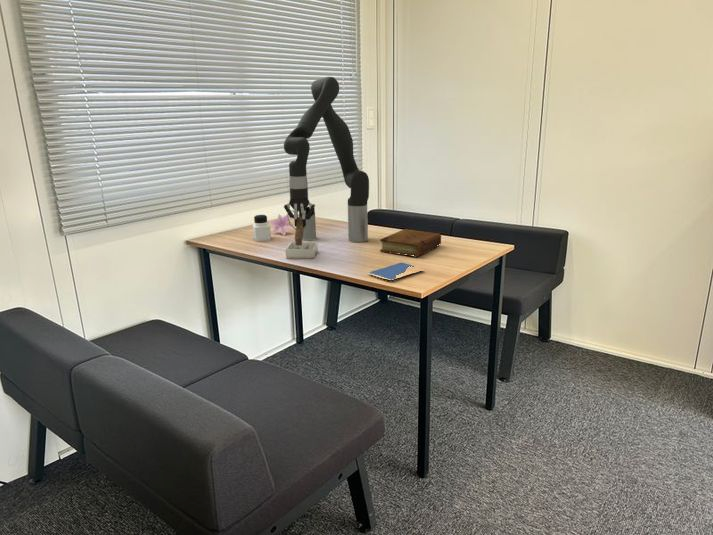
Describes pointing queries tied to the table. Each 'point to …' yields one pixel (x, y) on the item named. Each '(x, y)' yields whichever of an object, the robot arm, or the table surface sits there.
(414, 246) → the diary
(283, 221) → the lily
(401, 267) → the blue notebook
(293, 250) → the plank slot holder tray
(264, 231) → the medicine bottle
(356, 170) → the robot arm
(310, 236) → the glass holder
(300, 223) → the wooden plank piece
